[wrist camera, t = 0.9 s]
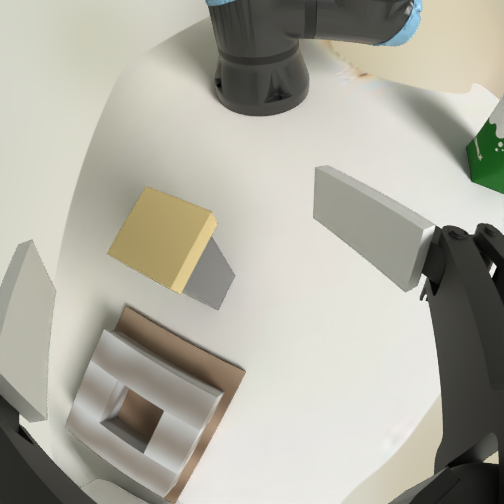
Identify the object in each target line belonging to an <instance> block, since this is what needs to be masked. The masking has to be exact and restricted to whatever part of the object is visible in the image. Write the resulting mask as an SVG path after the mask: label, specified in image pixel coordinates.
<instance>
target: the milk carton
mask: <svg viewBox="0 0 504 504" xmlns="http://www.w3.org/2000/svg"><path fill="white" fill-rule="evenodd" d="M466 149H467V154H468V160H469V165H470V172H471V179H472V182H474V183H477V184H480V185H482V186H485V187H487V188H490V189H492V190H495V191H497V192H500V193H502V194H504V94H503V96H502V98H501V100H500V101H499V103H498V104H497V106H496V108H495V109H494V111H493V112H492V114H491V115H490V117H489V118H488V120H487V121H486V123H485V124H484V126H483V127H482V128H481V130H480V131H479V133H478V134H477V135H476V136H475V138H474V139H473V140H472V141H471V142H470V143H469V145H468V146H467V147H466Z"/></svg>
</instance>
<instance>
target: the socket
mask: <svg viewBox="0 0 504 504" xmlns="http://www.w3.org/2000/svg"><path fill="white" fill-rule="evenodd" d="M245 373H246V371H244V370H242V369H240V368H238V367H235V366H233V365H231V364H229V363H227V362H225V361H223V360H221V359H219V358H217V357H215V356H213V355H211V354H210V353H208V352H206V351H204V350H202V349H200V348H198V347H196V346H194V345H192V344H191V343H189V342H187V341H185V340H183V339H181V338H180V337H178V336H176V335H174V334H172V333H171V332H169V331H167V330H165V329H164V328H162V327H160V326H159V325H157V324H155V323H153V322H152V321H150V320H148V319H147V318H145V317H143V316H142V315H140V314H138V313H137V312H135V311H133V310H132V309H130V308H128V307H125V309H124V311H123V313H122V316H121V318H120V320H119V322H118V324H117V326H116V328H115V330H114V331H112V330H106V329H104V331H103V333H102V335H101V337H100V339H99V342H98V344H97V346H96V348H95V351H94V353H93V355H92V358H91V360H90V362H89V365H88V367H87V370H86V372H85V374H84V377H83V379H82V382H81V384H80V387H79V390H78V392H77V395H76V397H75V400H74V403H73V405H72V408H71V411H70V414H69V416H68V419H67V422H66V425H65V427H66V428H67V429H68V430H69V431H70V432H71V433H72V434H73V435H74V436H75V437H76V438H77V439H79V440H80V441H81V442H82V443H83V444H85V445H86V446H87V447H88V448H90V449H91V450H92V451H93V452H95V453H96V454H97V455H98V456H100V457H101V458H102V459H104V460H105V461H106V462H108V463H109V464H111V465H112V466H113V467H115V468H116V469H118V470H119V471H120V472H122V473H123V474H125V475H126V476H128V477H129V478H131V479H132V480H134V481H135V482H137V483H139V484H140V485H142V486H143V487H145V488H147V489H148V490H150V491H152V492H153V493H155V494H157V495H158V496H160V497H162V498H164V499H165V500H167V501H169V502H171V503H173V504H175V502H176V501H177V499H178V497H179V496H180V494H181V492H182V490H183V489H184V487H185V485H186V484H187V482H188V480H189V478H190V476H191V475H192V473H193V471H194V469H195V468H196V466H197V464H198V462H199V460H200V459H201V457H202V455H203V453H204V451H205V449H206V448H207V446H208V444H209V442H210V440H211V438H212V437H213V435H214V433H215V431H216V429H217V427H218V425H219V423H220V422H221V420H222V418H223V416H224V414H225V412H226V410H227V408H228V406H229V404H230V402H231V400H232V398H233V397H234V395H235V393H236V391H237V389H238V387H239V385H240V383H241V381H242V379H243V377H244V375H245Z"/></svg>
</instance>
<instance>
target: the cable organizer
mask: <svg viewBox="0 0 504 504" xmlns="http://www.w3.org/2000/svg"><path fill="white" fill-rule="evenodd" d="M80 489H82V490H83V491H84V492H85V493H86V494H87V495H88V496H89V497H90V498H92V499H93V500H94V501H95V502H96V503H97V504H149V503H147V502H145V501H144V500H142V499H140V498H138V497H136V496H134V495H133V494H131V493H129V492H127V491H126V490H124V489H122V488H121V487H119V486H117V485H116V484H114V483H112V482H109V481H106V480H102V479H96V480H94V481H92V482H90V483H88V484H86V485H85V486H83V487H81V488H80Z"/></svg>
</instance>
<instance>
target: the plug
mask: <svg viewBox="0 0 504 504" xmlns="http://www.w3.org/2000/svg"><path fill="white" fill-rule="evenodd" d="M217 224H218V223H217V221H216V219H215V217H214V215H213V213H212V211H209V210H207V209H204V208H202V207H199V206H197V205H194V204H191V203H189V202H186V201H184V200H181V199H179V198H176V197H173V196H171V195H168V194H166V193H163V192H160V191H158V190H155V189H153V188H150V187H147V186H146V188H145V189H144V191H143V193H142V194H141V196H140V197H139V199H138V201H137V202H136V204H135V206H134V207H133V209H132V211H131V212H130V214H129V216H128V217H127V219H126V221H125V222H124V224H123V226H122V228H121V229H120V231H119V233H118V235H117V236H116V238H115V240H114V242H113V244H112V245H111V247H110V249H109V251H108V253H107V254H109V255H110V256H112V257H113V258H115V259H117V260H118V261H120V262H122V263H123V264H125V265H127V266H129V267H130V268H132V269H134V270H136V271H138V272H139V273H141V274H143V275H145V276H147V277H148V278H150V279H152V280H154V281H156V282H158V283H159V284H161V285H163V286H165V287H167V288H169V289H171V290H173V291H175V292H176V293H178V294H180V295H181V293H182V292H183V293H184V294H186V295H188V296H190V297H192V298H194V299H196V300H198V301H200V302H202V303H204V304H206V305H208V306H210V307H212V308H214V309H216V310H218V309H219V307H220V305H221V303H222V301H223V299H224V297H225V295H226V293H227V291H228V289H229V287H230V285H231V283H232V281H233V279H234V277H235V275H234V273H233V271H232V270H231V268H230V266H229V265H228V263H227V261H226V260H225V258H224V256H223V255H222V253H221V251H220V250H219V248H218V246H217V245H216V243H215V241H214V240H213V238H212V236H211V235H212V234H213V232H214V230H215V228H216V226H217Z"/></svg>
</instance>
